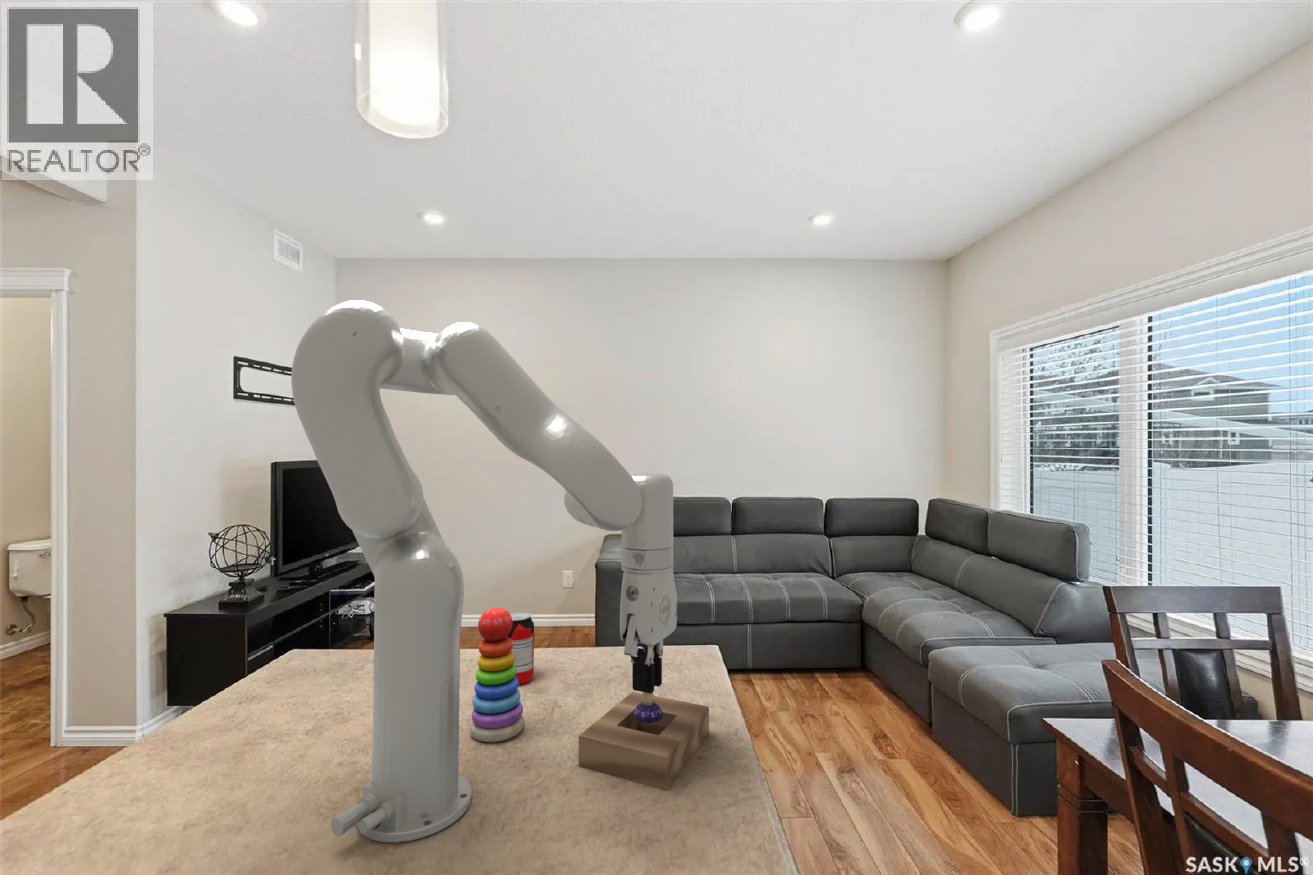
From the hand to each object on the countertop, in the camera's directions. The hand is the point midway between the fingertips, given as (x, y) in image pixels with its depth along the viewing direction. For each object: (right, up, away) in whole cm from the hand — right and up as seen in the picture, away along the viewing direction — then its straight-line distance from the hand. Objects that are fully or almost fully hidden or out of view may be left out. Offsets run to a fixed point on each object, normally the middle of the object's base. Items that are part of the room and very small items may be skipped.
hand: (647, 686), depth 81 cm
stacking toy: (-23, -9, +5) cm, 25 cm away
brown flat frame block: (0, -9, 0) cm, 9 cm away
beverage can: (-25, -10, +24) cm, 36 cm away
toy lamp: (0, -4, 0) cm, 4 cm away
